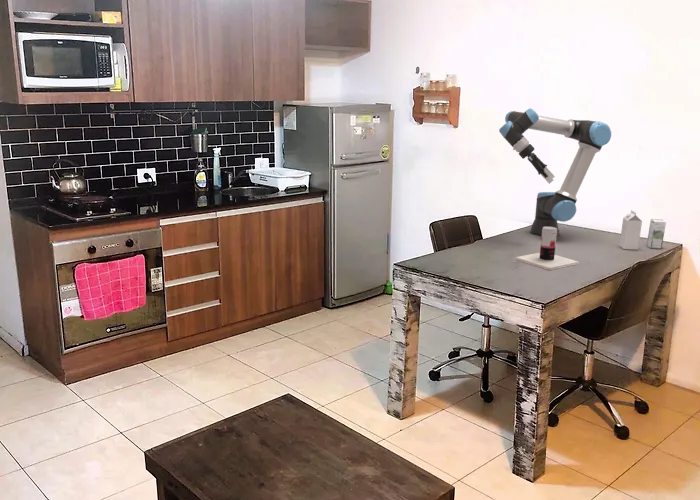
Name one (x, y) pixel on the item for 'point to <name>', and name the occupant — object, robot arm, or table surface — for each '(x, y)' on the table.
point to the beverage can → (548, 243)
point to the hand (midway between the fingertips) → (552, 180)
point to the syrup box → (656, 233)
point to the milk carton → (630, 231)
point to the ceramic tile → (549, 265)
